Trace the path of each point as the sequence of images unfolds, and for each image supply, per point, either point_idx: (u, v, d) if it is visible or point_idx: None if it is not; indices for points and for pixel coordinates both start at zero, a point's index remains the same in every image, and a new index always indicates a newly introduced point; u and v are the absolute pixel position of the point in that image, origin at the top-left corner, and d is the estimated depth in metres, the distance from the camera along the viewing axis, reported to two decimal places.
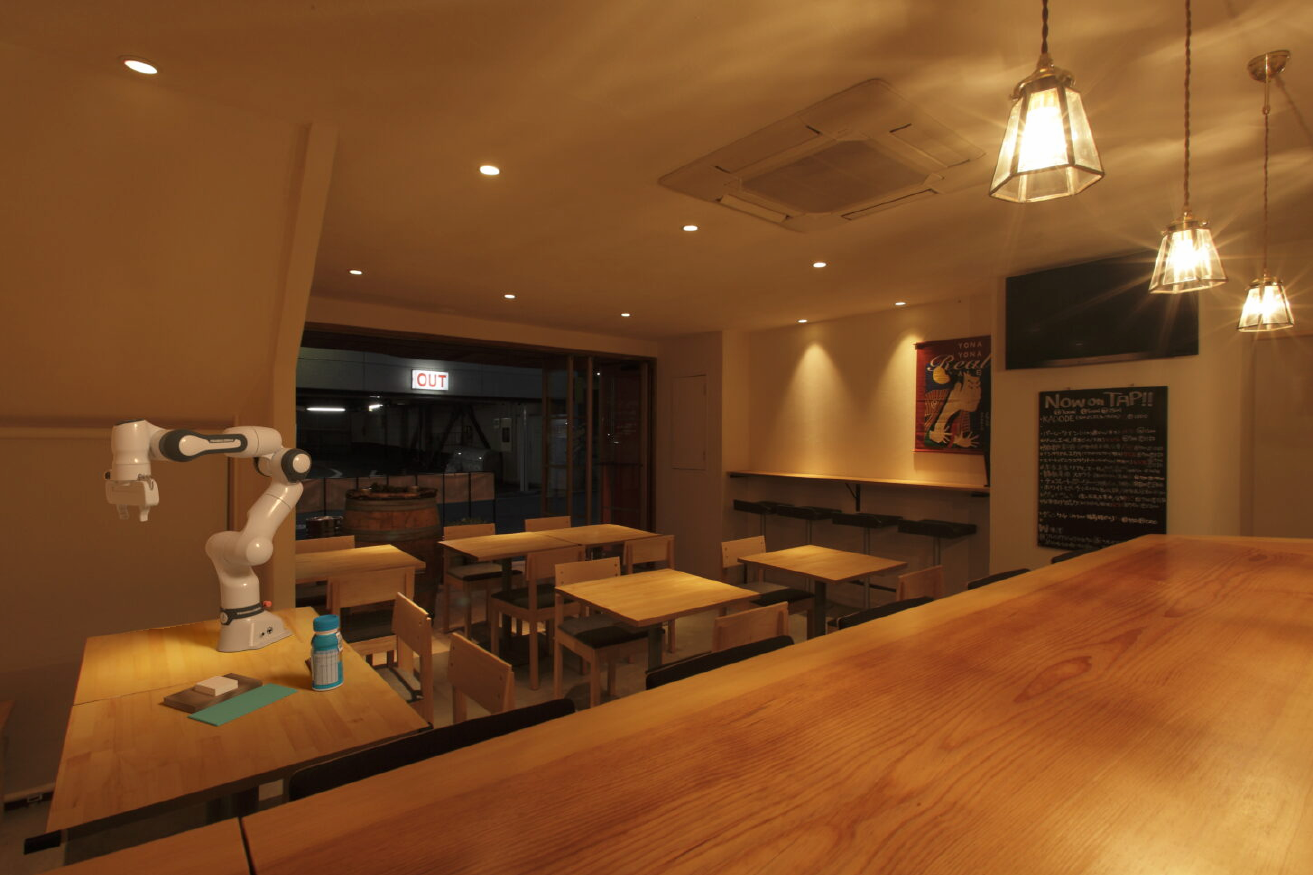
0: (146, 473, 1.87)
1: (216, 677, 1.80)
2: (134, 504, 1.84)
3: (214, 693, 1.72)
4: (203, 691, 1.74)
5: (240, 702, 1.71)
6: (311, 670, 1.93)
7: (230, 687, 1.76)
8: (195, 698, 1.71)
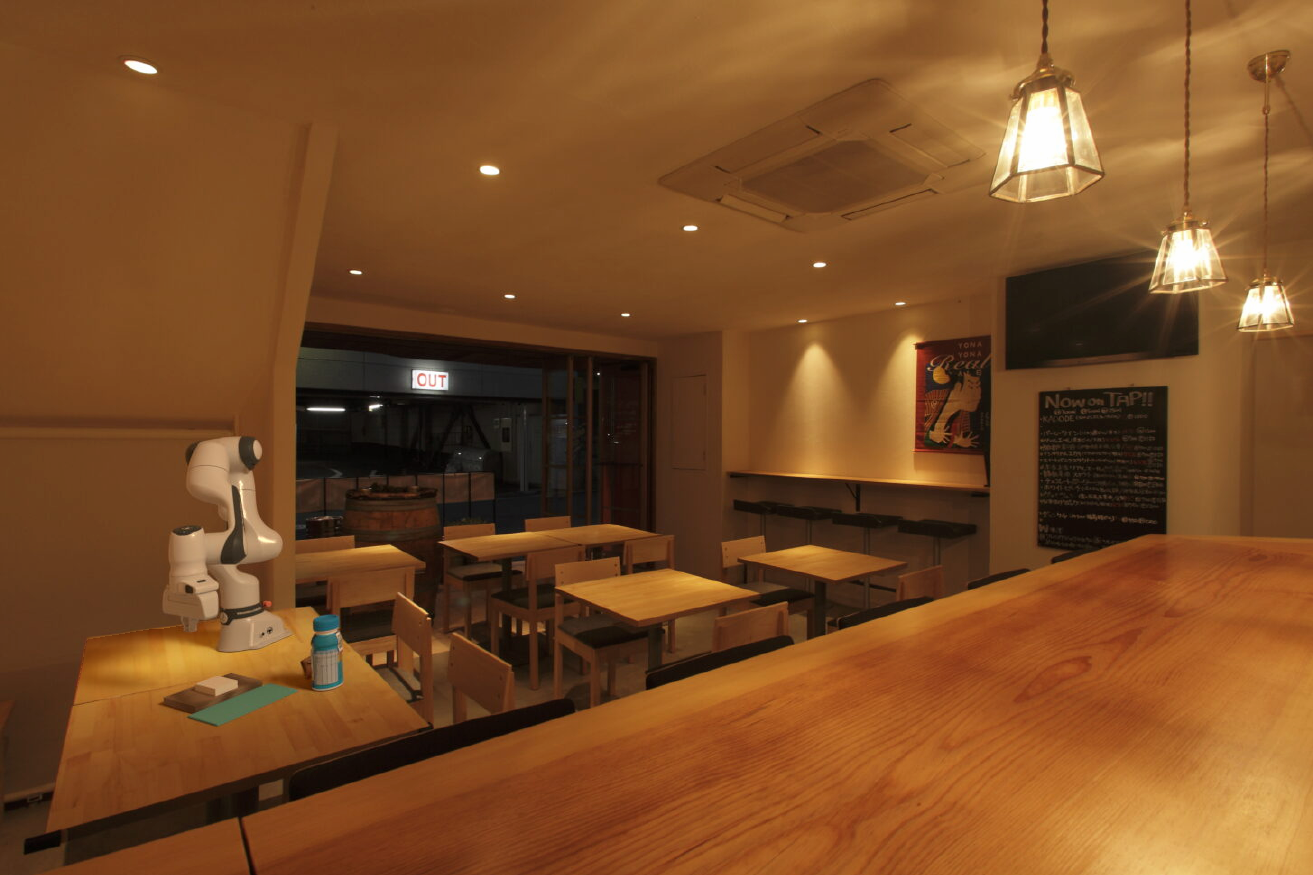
0: None
1: (216, 677, 1.80)
2: None
3: (214, 693, 1.72)
4: (203, 691, 1.74)
5: (240, 702, 1.71)
6: (305, 671, 1.92)
7: (230, 687, 1.76)
8: (195, 698, 1.71)
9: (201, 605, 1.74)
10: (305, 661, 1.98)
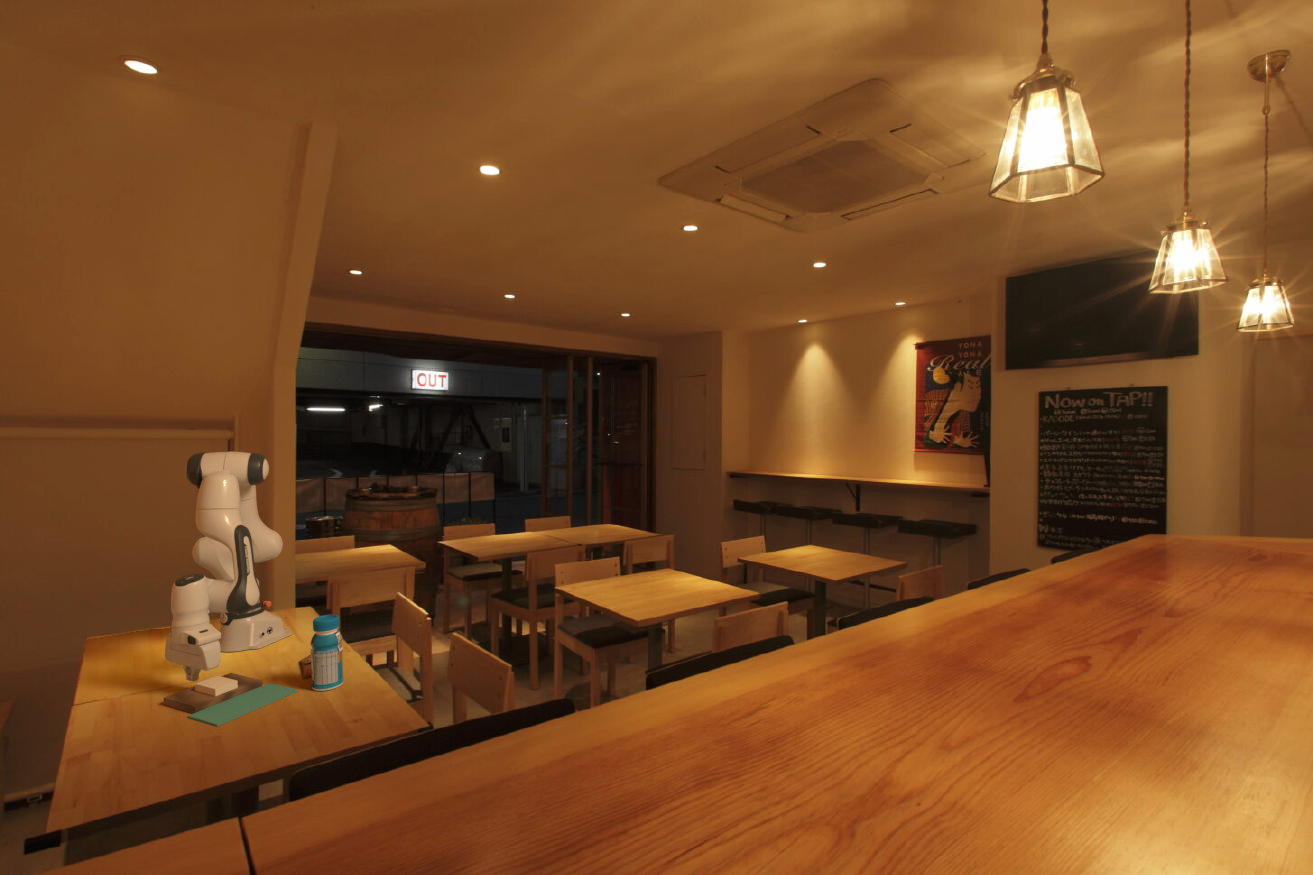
0: None
1: (216, 677, 1.80)
2: None
3: (214, 693, 1.72)
4: (203, 691, 1.74)
5: (240, 702, 1.71)
6: None
7: (230, 687, 1.76)
8: (195, 698, 1.71)
9: (203, 656, 1.75)
10: (302, 661, 1.97)
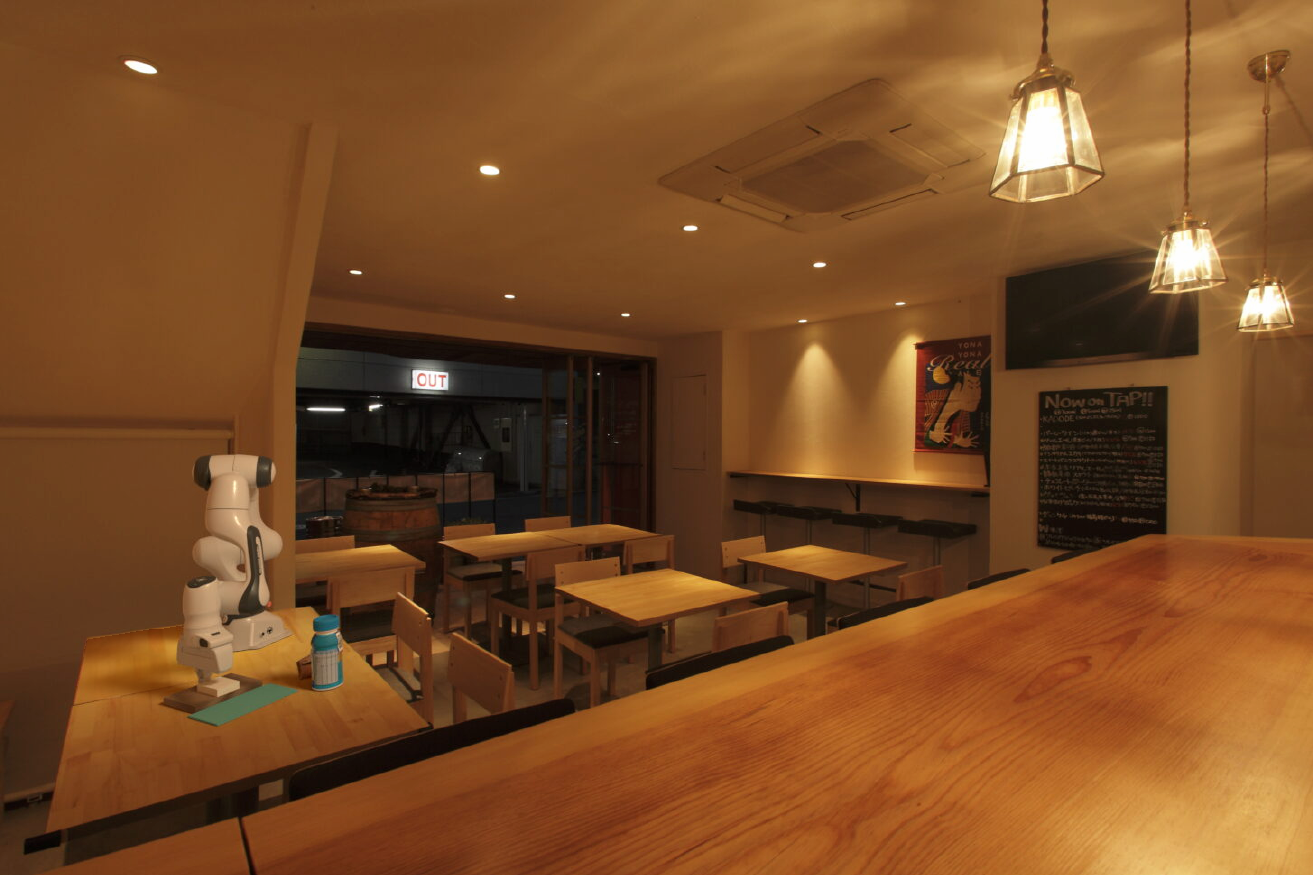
0: None
1: (218, 678, 1.79)
2: None
3: (216, 694, 1.72)
4: (205, 692, 1.74)
5: (240, 702, 1.71)
6: (300, 672, 1.91)
7: (232, 688, 1.75)
8: (195, 698, 1.71)
9: (216, 659, 1.72)
10: (300, 662, 1.97)
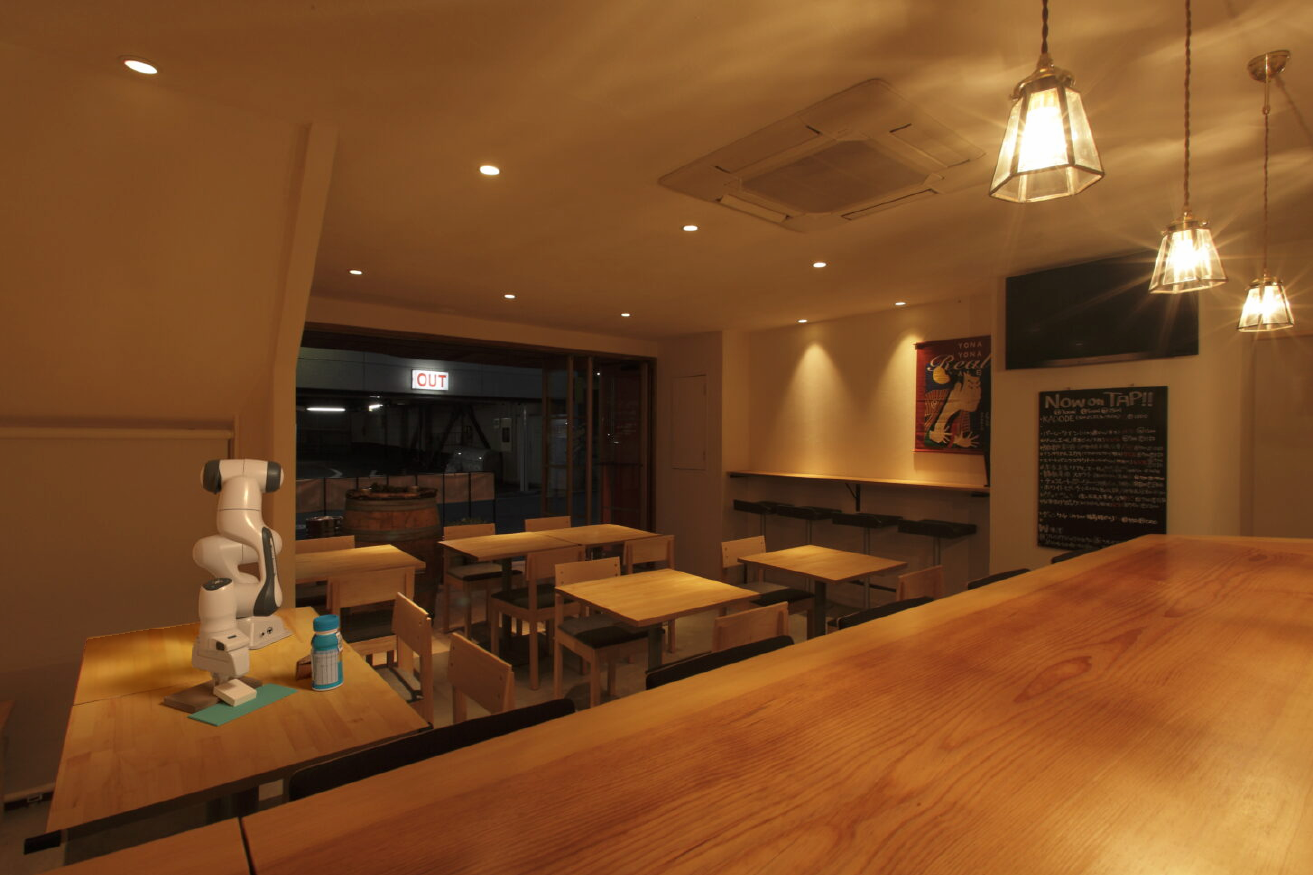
0: None
1: (235, 681, 1.76)
2: None
3: (233, 703, 1.69)
4: (221, 697, 1.71)
5: None
6: (297, 672, 1.91)
7: (249, 697, 1.72)
8: (195, 698, 1.71)
9: (232, 663, 1.69)
10: (300, 661, 1.97)
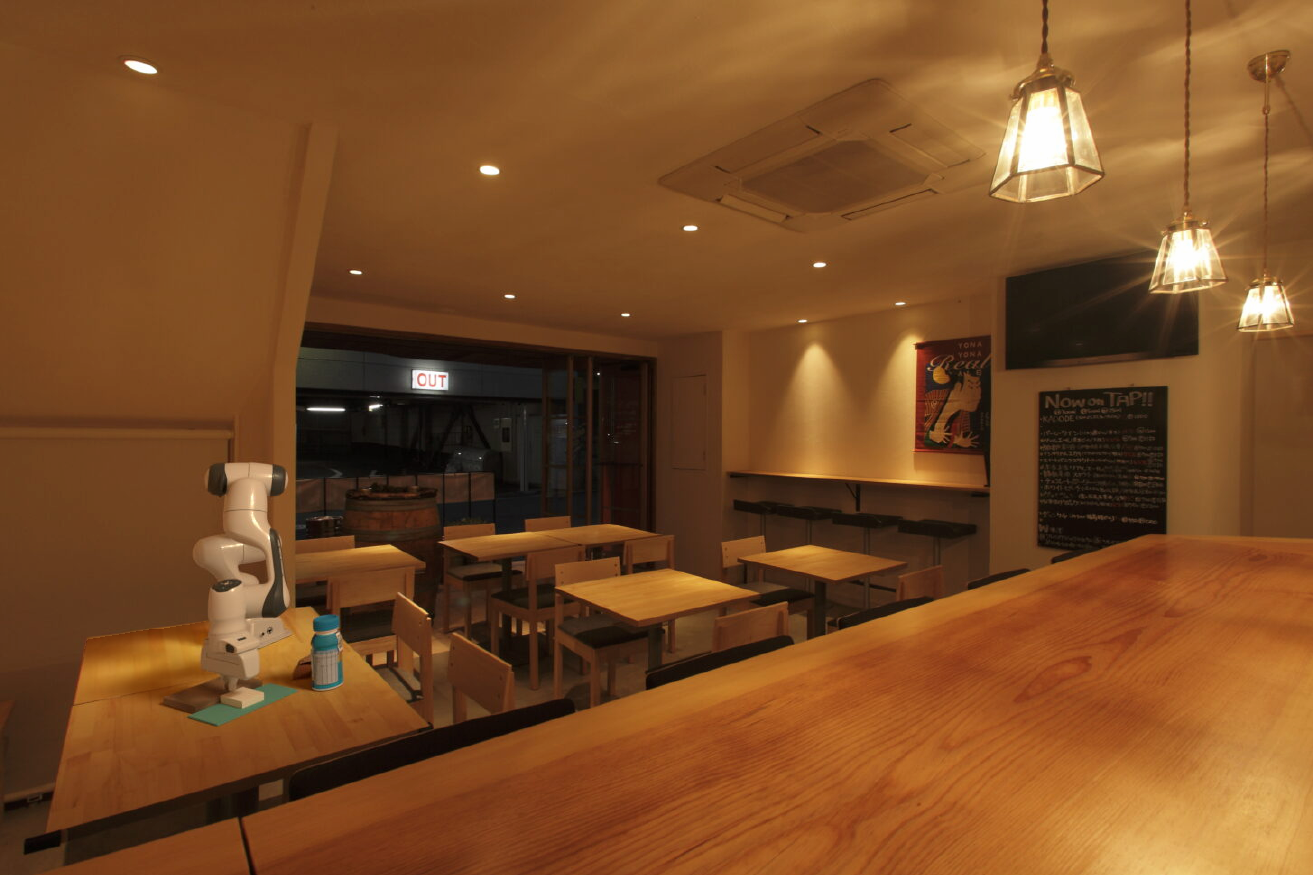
0: None
1: (242, 688, 1.75)
2: None
3: (241, 705, 1.68)
4: (229, 703, 1.70)
5: None
6: (295, 672, 1.92)
7: (256, 699, 1.71)
8: (195, 698, 1.71)
9: (242, 665, 1.68)
10: (300, 661, 1.98)
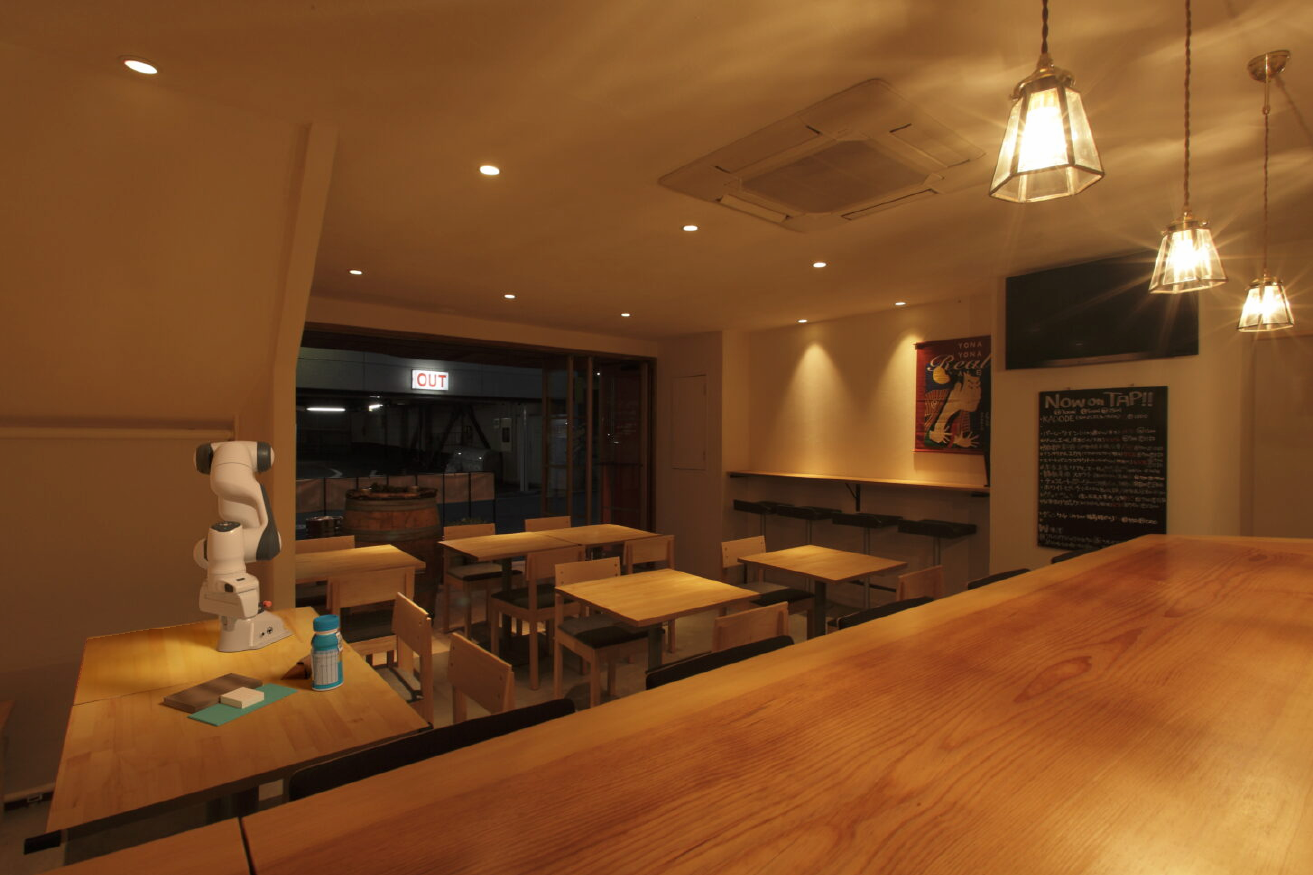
0: None
1: (242, 688, 1.75)
2: None
3: (241, 705, 1.68)
4: (229, 703, 1.70)
5: None
6: None
7: (256, 699, 1.71)
8: (195, 698, 1.71)
9: (241, 604, 1.68)
10: None
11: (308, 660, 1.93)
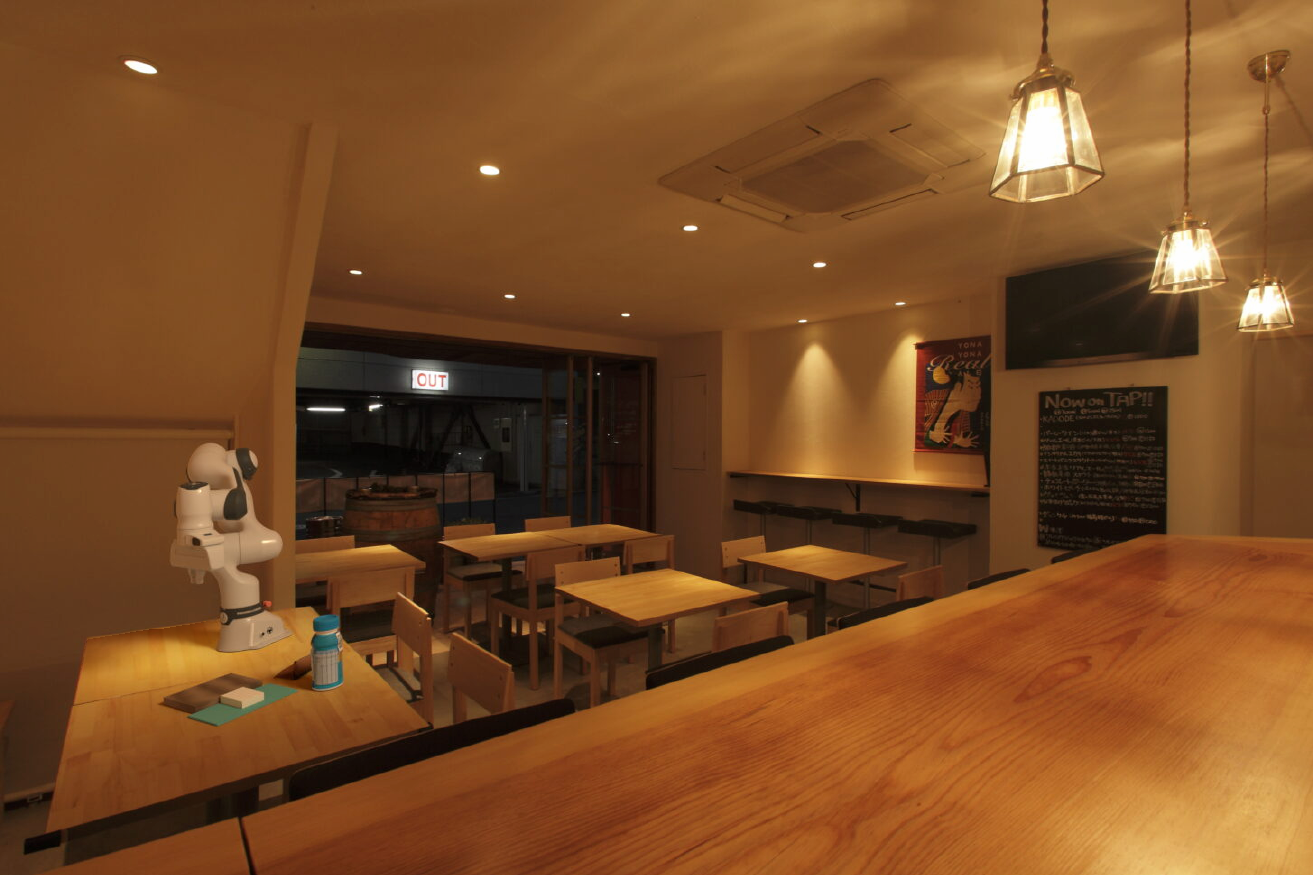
0: None
1: (242, 688, 1.75)
2: None
3: (241, 705, 1.68)
4: (229, 703, 1.70)
5: None
6: None
7: (256, 699, 1.71)
8: (195, 698, 1.71)
9: (208, 557, 1.80)
10: None
11: (303, 660, 1.93)
